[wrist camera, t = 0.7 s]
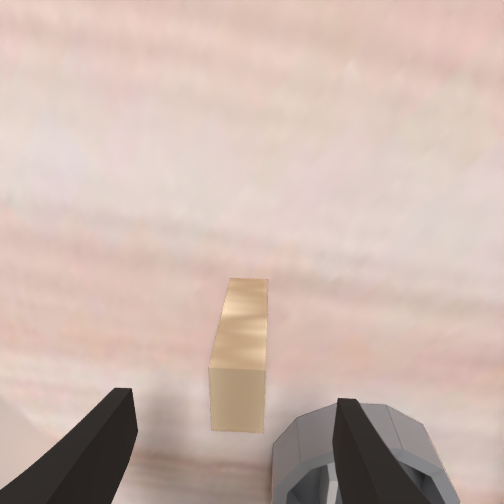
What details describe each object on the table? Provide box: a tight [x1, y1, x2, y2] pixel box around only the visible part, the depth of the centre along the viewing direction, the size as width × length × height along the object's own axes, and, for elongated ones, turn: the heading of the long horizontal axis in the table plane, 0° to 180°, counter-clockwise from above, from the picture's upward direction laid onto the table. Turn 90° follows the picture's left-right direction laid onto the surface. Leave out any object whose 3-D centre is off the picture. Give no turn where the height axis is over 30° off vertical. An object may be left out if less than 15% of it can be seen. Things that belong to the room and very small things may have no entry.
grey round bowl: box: [272, 403, 460, 504], centre depth 22 cm, size 11×11×3 cm
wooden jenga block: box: [209, 278, 268, 433], centre depth 16 cm, size 2×3×7 cm, turn 179°
